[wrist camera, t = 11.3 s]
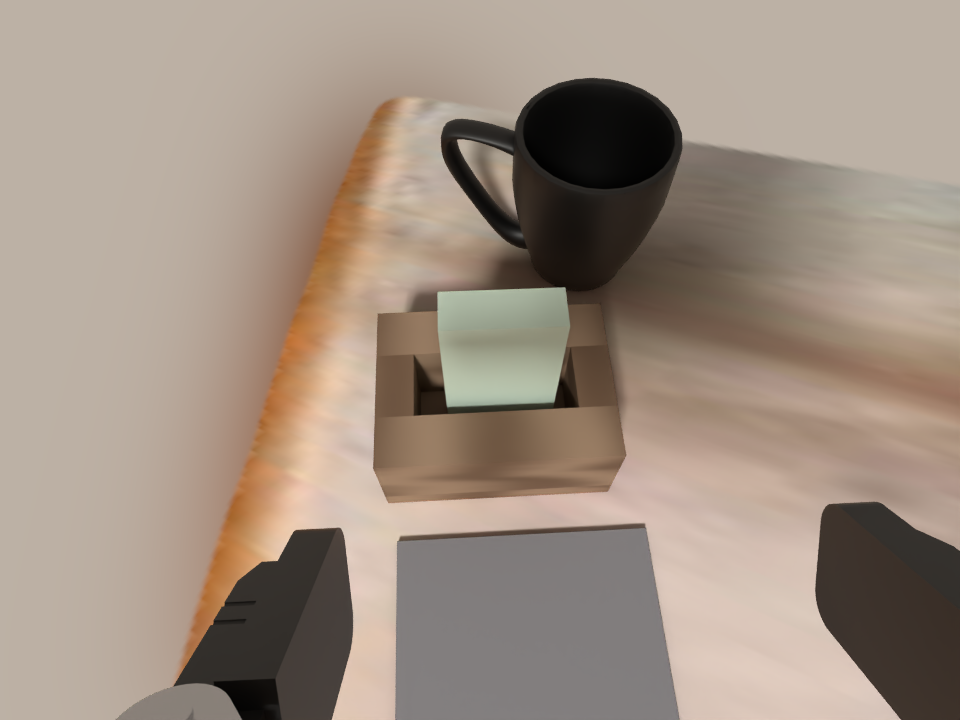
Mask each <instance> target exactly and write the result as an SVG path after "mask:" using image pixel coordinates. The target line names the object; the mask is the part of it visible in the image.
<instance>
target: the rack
mask: <svg viewBox="0 0 960 720" xmlns="http://www.w3.org/2000/svg"><path fill="white" fill-rule="evenodd" d="M568 312H569V321H570V330H569V334H568V339H567V344H566V349H565V354H564V358H563V363H562V368H561V373H560V377H559V382H558V387H557V392H556V396H555V401H554V406H553V409H540V410H520V411H500V412H481V413H461V414H448V411H447V403H446V394H445V386H444V378H443V370H442V362H441V353H440V345H439V337H438V311H426V312H405V313H384V314H378V326H377V360H376V394H375V428H374V462H373V469H374V471H375V474H376V476H377V478H378V480H379V483H380V485H381V487H382V490H383V492H384V494H385V497H386V499H387V501H388V503H399V502H418V501H437V500H456V499H475V498H494V497H513V496H532V495H551V494H569V493H588V492H607V491H608V490H609V488H610V486H611V484H612V482H613V480H614V478H615V476H616V474H617V472H618V470H619V469H620V467H621V465H622V463H623V461H624V459H625V457H626V451H625V445H624V439H623V434H622V428H621V422H620V416H619V410H618V404H617V398H616V392H615V387H614V381H613V375H612V369H611V363H610V357H609V351H608V345H607V340H606V334H605V328H604V322H603V316H602V310H601V304H600V303H595V304H574V305H568Z"/></svg>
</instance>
